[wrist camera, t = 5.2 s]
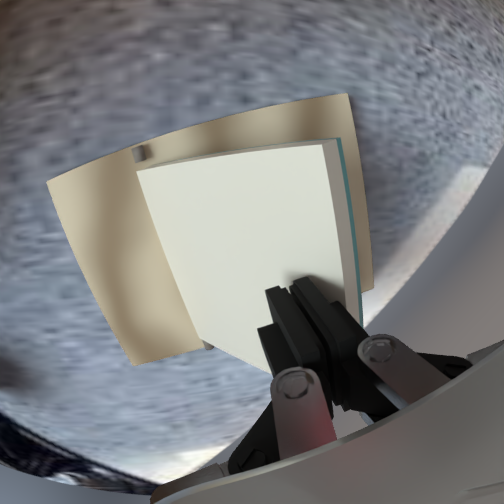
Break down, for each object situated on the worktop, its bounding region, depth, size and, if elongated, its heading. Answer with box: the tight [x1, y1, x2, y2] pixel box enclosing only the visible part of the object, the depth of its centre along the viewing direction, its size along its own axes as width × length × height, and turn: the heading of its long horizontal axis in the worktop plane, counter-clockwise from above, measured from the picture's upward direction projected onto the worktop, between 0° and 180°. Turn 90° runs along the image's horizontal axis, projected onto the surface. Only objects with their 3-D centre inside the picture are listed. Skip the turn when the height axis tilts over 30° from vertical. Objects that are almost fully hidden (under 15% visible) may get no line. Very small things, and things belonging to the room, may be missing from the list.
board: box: [47, 93, 374, 366], centre depth 21 cm, size 20×15×2 cm
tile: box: [136, 137, 363, 374], centre depth 16 cm, size 1×12×12 cm
